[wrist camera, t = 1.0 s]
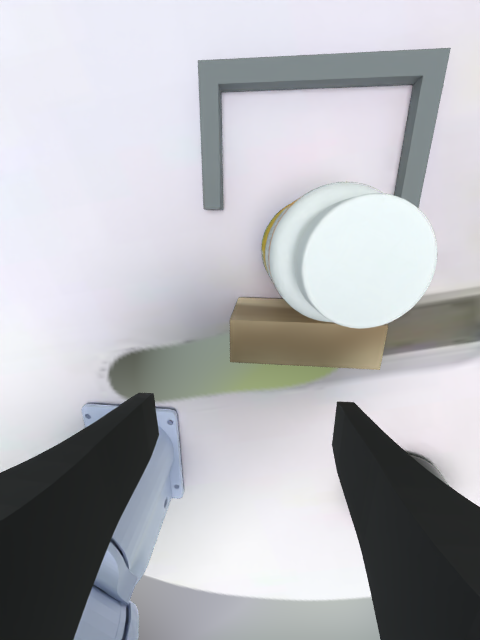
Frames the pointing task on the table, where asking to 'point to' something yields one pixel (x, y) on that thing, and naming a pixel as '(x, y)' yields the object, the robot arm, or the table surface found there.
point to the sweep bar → (299, 338)
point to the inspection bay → (326, 72)
